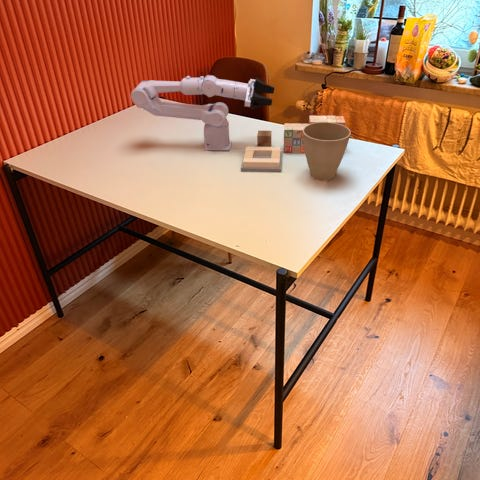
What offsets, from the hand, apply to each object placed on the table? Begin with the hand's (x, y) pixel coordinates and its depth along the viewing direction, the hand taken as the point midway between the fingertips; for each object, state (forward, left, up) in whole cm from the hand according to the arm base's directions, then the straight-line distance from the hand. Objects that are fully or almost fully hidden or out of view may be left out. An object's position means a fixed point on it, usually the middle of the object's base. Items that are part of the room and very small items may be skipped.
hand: (273, 96), depth 159 cm
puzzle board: (-3, -13, -19) cm, 23 cm away
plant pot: (+18, -22, -20) cm, 34 cm away
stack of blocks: (+15, -2, -20) cm, 25 cm away
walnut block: (-3, -1, -20) cm, 20 cm away
